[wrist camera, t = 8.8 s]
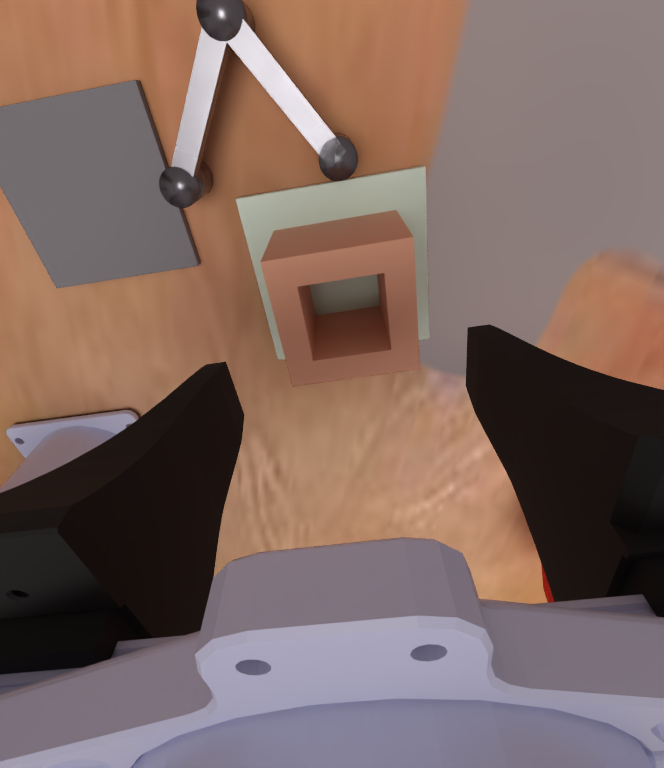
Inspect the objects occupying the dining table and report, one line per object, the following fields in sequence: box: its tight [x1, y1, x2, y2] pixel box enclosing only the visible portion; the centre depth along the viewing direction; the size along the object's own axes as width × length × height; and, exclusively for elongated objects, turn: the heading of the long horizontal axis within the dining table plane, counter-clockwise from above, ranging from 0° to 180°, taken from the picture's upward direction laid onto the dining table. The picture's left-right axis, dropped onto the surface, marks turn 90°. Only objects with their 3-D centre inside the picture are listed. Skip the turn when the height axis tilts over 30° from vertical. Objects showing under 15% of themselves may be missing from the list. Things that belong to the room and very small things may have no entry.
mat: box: [0, 80, 200, 288], centre depth 18 cm, size 7×7×1 cm
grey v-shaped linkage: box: [159, 0, 358, 208], centre depth 15 cm, size 6×7×2 cm
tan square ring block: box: [260, 210, 420, 386], centre depth 18 cm, size 5×5×4 cm
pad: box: [236, 165, 430, 360], centre depth 20 cm, size 8×8×1 cm
